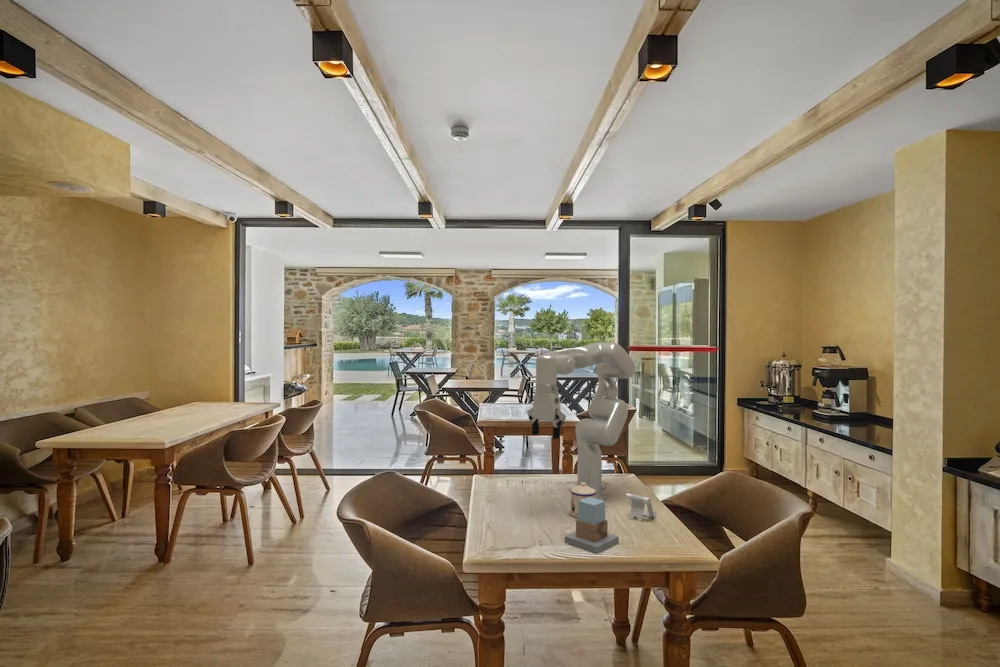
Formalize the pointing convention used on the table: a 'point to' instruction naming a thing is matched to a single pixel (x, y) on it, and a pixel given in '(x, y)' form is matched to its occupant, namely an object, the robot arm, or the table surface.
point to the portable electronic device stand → (640, 507)
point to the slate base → (592, 546)
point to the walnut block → (591, 530)
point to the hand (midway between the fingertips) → (545, 436)
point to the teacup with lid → (580, 496)
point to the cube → (591, 510)
